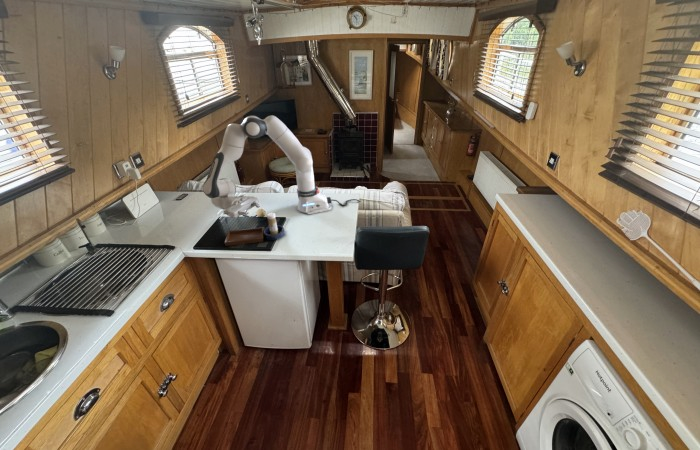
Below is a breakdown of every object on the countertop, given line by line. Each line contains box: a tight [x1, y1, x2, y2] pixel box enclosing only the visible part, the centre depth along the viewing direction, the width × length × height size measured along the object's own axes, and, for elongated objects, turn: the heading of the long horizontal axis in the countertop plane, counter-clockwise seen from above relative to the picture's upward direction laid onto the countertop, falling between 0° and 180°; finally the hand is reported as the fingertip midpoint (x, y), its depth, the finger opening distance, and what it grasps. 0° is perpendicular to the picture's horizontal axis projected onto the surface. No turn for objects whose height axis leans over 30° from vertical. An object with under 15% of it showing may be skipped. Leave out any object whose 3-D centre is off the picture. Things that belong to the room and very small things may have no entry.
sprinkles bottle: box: [266, 212, 279, 235], centre depth 159 cm, size 5×5×13 cm
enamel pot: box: [264, 224, 285, 241], centre depth 162 cm, size 11×14×3 cm
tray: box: [224, 226, 266, 247], centre depth 159 cm, size 20×12×2 cm, turn 100°
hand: (253, 209), depth 160 cm, fingers open, 8 cm apart
